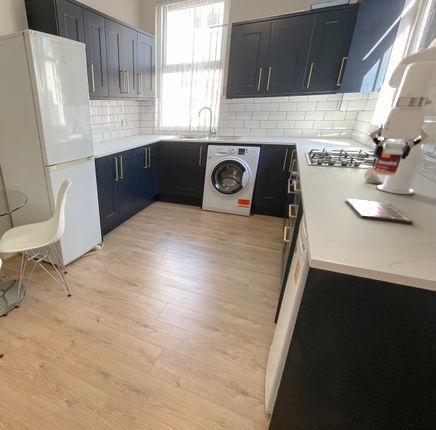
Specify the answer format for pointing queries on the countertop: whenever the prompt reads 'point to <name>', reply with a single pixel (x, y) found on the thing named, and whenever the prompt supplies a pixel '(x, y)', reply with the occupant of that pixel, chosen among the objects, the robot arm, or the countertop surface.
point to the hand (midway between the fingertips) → (389, 157)
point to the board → (378, 211)
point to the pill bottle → (389, 159)
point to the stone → (372, 176)
